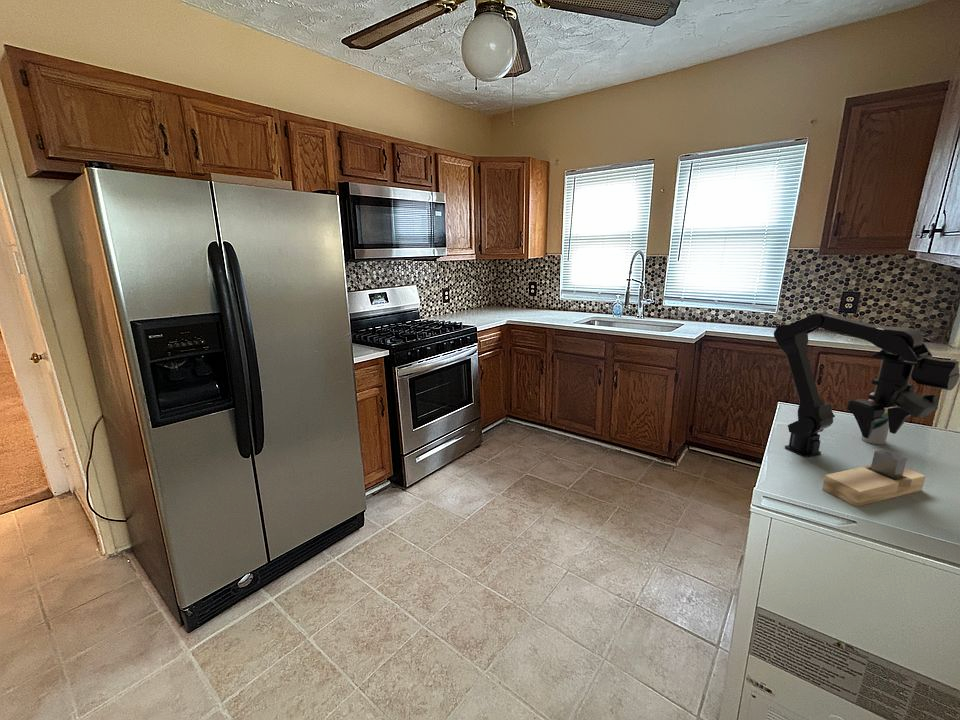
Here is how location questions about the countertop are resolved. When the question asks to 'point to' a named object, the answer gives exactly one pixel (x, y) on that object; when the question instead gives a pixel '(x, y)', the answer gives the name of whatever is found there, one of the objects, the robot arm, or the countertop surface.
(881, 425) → the lotion bottle
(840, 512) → the countertop surface
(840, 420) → the countertop surface
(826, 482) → the slotted wooden block
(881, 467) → the grey gripped block
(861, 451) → the countertop surface
